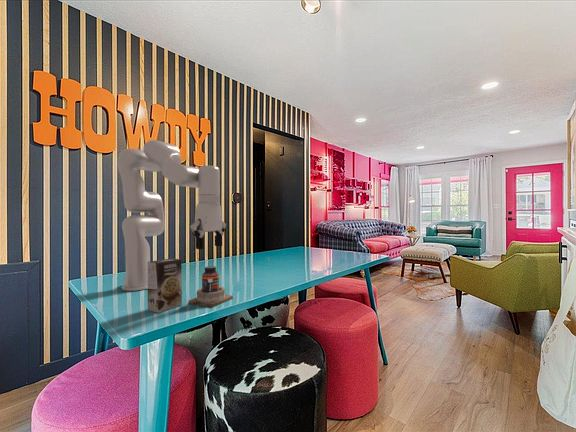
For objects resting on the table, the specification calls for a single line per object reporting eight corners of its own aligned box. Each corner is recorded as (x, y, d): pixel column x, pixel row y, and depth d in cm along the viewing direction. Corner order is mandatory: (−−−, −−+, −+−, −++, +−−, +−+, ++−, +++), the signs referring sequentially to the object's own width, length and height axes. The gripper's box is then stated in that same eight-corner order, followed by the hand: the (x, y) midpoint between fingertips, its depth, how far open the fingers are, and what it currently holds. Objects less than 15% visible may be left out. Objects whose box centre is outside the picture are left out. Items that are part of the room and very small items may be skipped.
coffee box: (158, 313, 89) (157, 262, 89) (147, 310, 92) (146, 261, 92) (183, 305, 97) (182, 258, 97) (171, 302, 100) (170, 257, 100)
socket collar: (188, 303, 99) (188, 292, 99) (210, 295, 109) (209, 284, 109) (212, 307, 94) (212, 295, 94) (232, 298, 104) (232, 287, 104)
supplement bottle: (214, 300, 98) (214, 268, 98) (199, 300, 99) (198, 268, 99) (222, 295, 104) (221, 265, 104) (207, 295, 105) (206, 265, 105)
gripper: (217, 201, 111) (217, 244, 111) (183, 199, 95) (183, 249, 95) (232, 201, 107) (232, 245, 107) (199, 199, 92) (200, 251, 92)
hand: (209, 247), depth 101 cm, fingers open, 9 cm apart
